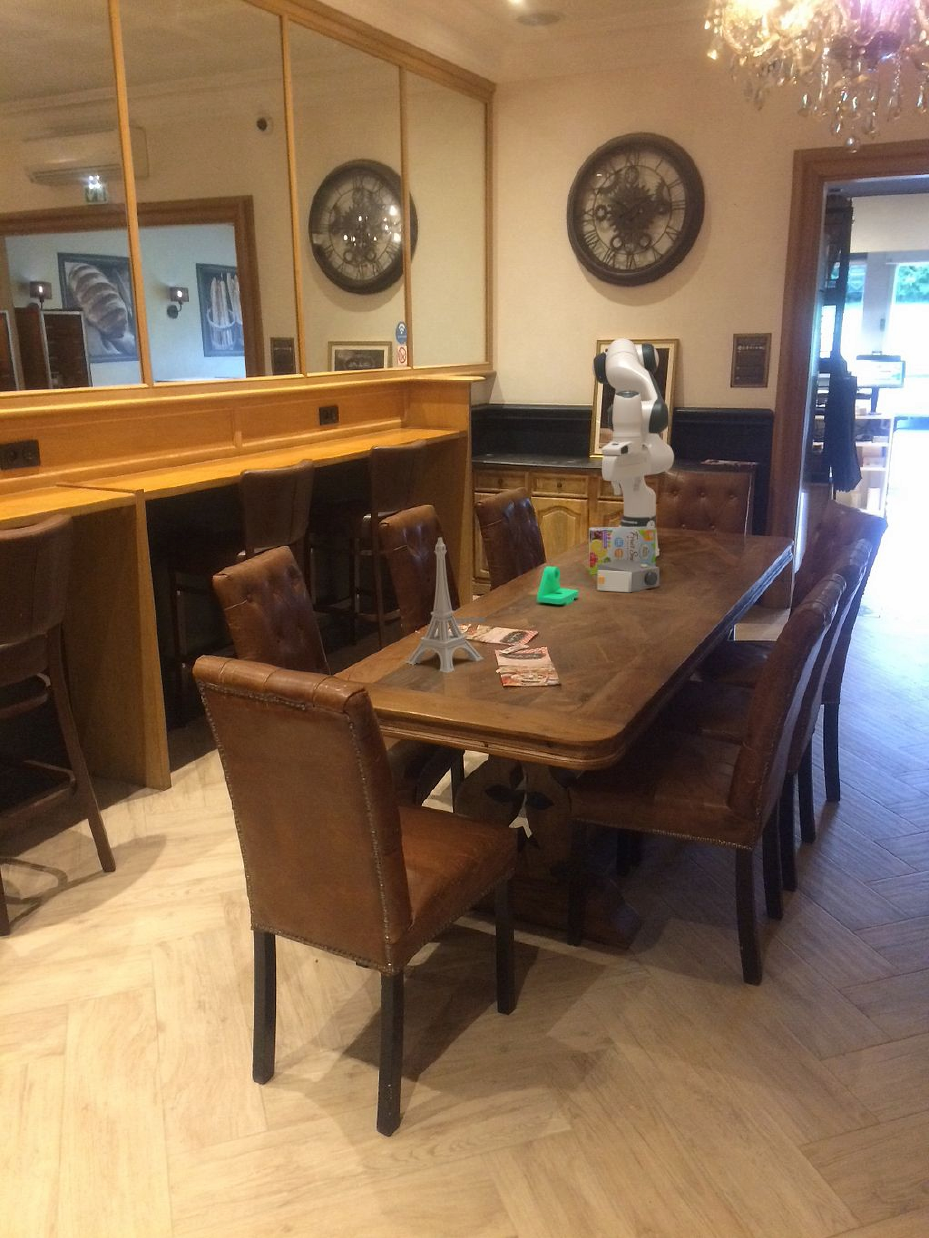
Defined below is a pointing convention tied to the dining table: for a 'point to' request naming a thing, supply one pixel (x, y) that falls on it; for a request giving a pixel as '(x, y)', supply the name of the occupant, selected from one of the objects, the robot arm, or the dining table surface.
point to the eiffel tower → (443, 623)
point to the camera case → (634, 573)
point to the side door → (614, 581)
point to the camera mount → (554, 588)
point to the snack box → (621, 545)
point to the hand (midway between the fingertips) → (627, 493)
